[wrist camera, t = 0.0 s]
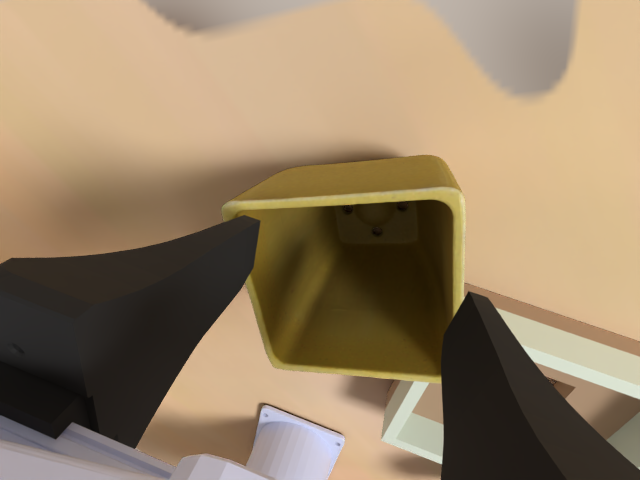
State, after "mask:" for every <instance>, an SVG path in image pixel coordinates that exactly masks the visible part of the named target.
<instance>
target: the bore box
mask: <svg viewBox="0 0 640 480" xmlns="http://www.w3.org/2000/svg"><path fill="white" fill-rule="evenodd" d="M468 291H470V292H473V293H476V294H479V295H482V296H485V297H488V298H489V300H490V301H491V302H492V304H493V305H494V307H495V308H496V309H497V311H498V312H499V314H500V315H501V317H502V318H503V320H504V321H505V323H506V324H507V326H508V327H509V329H510V330H511V331H512V333H513V334H514V336H515V337H516V339H517V340H518V341H519V343H520V344H521V346H522V347H523V348H524V350H525V351H526V352H527V354H528V355H529V356H530V358H531V359H532V360H533V362H534V363H535V364H536V365H537V367H538V368H539V369H540V371H541V372H542V373H543V374H544V376H546V377H549V378H551V379H554V380H557V382H556V383H555V384H554V385H553V386H554V387H555V388H556V390H557V391H558V392H559V393H560V394H561V395H562V396H563V397H564V398H565V399H566V401H567V402H568V403H569V404H570V405H571V406H572V407H573V408H574V409H575V410H576V411H577V412H578V413H579V414H580V415H581V416H582V417H583V418H584V419H585V420H586V421H587V422H588V423H589V424H590V425H591V426H592V427H593V428H594V429H595V430H596V431H597V432H598V433H599V434H600V435H601V436H602V437H603V438H604V439H605V440H606V441H608V442H609V443H610V444H611V445H612V446H613V447H614V448H615V449H616V450H618V451H619V452H620V453H621V454H622V455H623V456H624V457H625V458H627V459H628V460H629V461H630V462H631V463H632V464H634V465H635V466H636V467H637V468H638V469H640V342H639V341H636V340H633V339H630V338H627V337H624V336H621V335H618V334H615V333H612V332H609V331H606V330H603V329H600V328H597V327H594V326H591V325H588V324H585V323H582V322H579V321H576V320H574V319H571V318H568V317H565V316H562V315H559V314H556V313H553V312H550V311H547V310H544V309H541V308H538V307H535V306H532V305H529V304H526V303H523V302H520V301H517V300H514V299H511V298H508V297H505V296H502V295H499V294H496V293H493V292H490V291H487V290H484V289H481V288H478V287H475V286H472V285H469V284H466V283H464V298H465V296H466V295H467V293H468ZM381 441H384V442H386V443H389V444H391V445H394V446H396V447H399V448H401V449H404V450H406V451H409V452H411V453H414V454H417V455H419V456H422V457H424V458H427V459H429V460H432V461H434V462H437V463H439V464H442V457H443V441H444V430H443V405H442V384H440V383H428V382H418V381H405V380H397V379H394V381H393V383H392V385H391V387H390V389H389V391H388V393H387V399H386V407H385V414H384V422H383V429H382V437H381Z"/></svg>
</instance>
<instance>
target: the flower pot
mask: <svg viewBox="0 0 640 480" xmlns="http://www.w3.org/2000/svg"><path fill="white" fill-rule="evenodd" d="M401 201H405V202H406V203H407V204H408V207H407V208H406V209H405V210H401V209H399V208H398V203H399V202H401ZM344 205H351V206H352V208H353V210H352V211H351V212H346V211H345V210H344ZM221 213H222V217H223V221H224V222H226V221H229V220H231V219H234V218H237V217H240V216H243V215H246V216H249V217H252V218H255V219H258V220H261V222H260V228H259V235H258V242H257V248H256V255H255V262H254V268H253V269H252V271H251V273H250V275H249V276H248V278H247V280H246V281H245V284H246V287H247V290H248V293H249V296H250V299H251V303H252V306H253V309H254V313H255V316H256V320H257V324H258V327H259V331H260V334H261V337H262V341H263V344H264V348H265V351H266V354H267V356H268V358H269V360H270V362H271V364H272V366H273V367H274V368H277V369H282V370H290V371H302V372H314V373H328V374H340V375H350V376H363V377H374V378H383V379H397V380H405V381H418V382H428V383H440V384H441V354H442V344H443V335H444V333H445V331H446V330H447V328H448V326H449V324H450V323H451V321H452V319H453V317H454V316H455V314H456V312H457V310H458V309H459V307H460V305H461V303H462V302H463V300H464V254H465V221H466V215H465V198H464V195H463V193H462V191H461V189H460V187H459V185H458V184H457V182H456V180H455V178H454V176H453V174H452V173H451V171H450V169H449V167H448V166H447V164H446V163H445V162H444V161H443V160H442V159H441V158H439V157H436V156H432V155H418V156H409V157H400V158H391V159H380V160H370V161H359V162H348V163H336V164H324V165H308V166H300V167H294V168H290V169H286V170H284V171H281V172H279V173H277V174H275V175H273V176H271V177H270V178H268V179H266V180H264V181H263V182H261V183H259V184H257V185H256V186H254V187H252V188H250V189H249V190H247V191H245V192H244V193H242V194H240V195H239V196H237V197H235V198H234V199H232V200H230V201H228V202H227V203H225V204H224V205H223V206H222V208H221ZM375 227H378V228H381V229H382V233H381V234H380V235H376V234H374V233H373V229H374V228H375Z"/></svg>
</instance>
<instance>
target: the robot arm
mask: <svg viewBox="0 0 640 480" xmlns="http://www.w3.org/2000/svg"><path fill="white" fill-rule="evenodd" d="M260 222H261V220H258V219H255V218H252V217H249V216H246V215H243V216H240V217H237V218H234V219H231V220H229V221H226V222H224V223H221V224H218V225H216V226H213V227H210V228H208V229H205V230H202V231H200V232H197V233H194V234H190V235H187V236H184V237H181V238H178V239H175V240H172V241H168V242H164V243H160V244H156V245H152V246H147V247H143V248H138V249H132V250H126V251H119V252H113V253H106V254H98V255H88V256H75V257H57V258H11V259H9V260H7V261H5V262H3V263H2V264H0V480H327V479H328V477H329V475H330V472H331V470H332V468H333V466H334V464H335V462H336V460H337V457H338V455H339V453H340V451H341V449H342V447H343V445H344V442H345V437H344V436H343V435H341V434H339V433H336V432H334V431H331V430H329V429H326V428H324V427H321V426H319V425H316V424H314V423H311V422H309V421H306V420H303V419H301V418H298V417H296V416H293V415H291V414H288V413H286V412H283V411H281V410H278V409H276V408H273V407H271V406H268V405H264V406H263V407H262V409H261V413H260V418H259V422H258V427H257V431H256V436H255V440H254V444H253V449H252V452H251V455H250V457H249V459H248V462H247V464H246V466H244V465H242V464H239V463H237V462H235V461H232V460H230V459H226V458H223V457H219V456H215V455H211V454H208V453H204V454H197V455H190V456H186V457H183V458H182V459H181V460H180V462H179V464H178V465H177V467H175V466H172V465H170V464H168V463H166V462H163V461H161V460H159V459H156V458H154V457H152V456H149V455H147V454H145V453H142V452H140V451H138V450H135V448H136V446H137V444H138V443H139V441H140V439H141V437H142V435H143V433H144V432H145V430H146V428H147V426H148V424H149V423H150V421H151V419H152V418H153V416H154V414H155V412H156V411H157V409H158V407H159V406H160V404H161V402H162V400H163V399H164V397H165V395H166V394H167V392H168V390H169V389H170V387H171V385H172V384H173V382H174V380H175V379H176V377H177V376H178V374H179V372H180V371H181V369H182V367H183V366H184V364H185V363H186V361H187V360H188V358H189V356H190V355H191V353H192V352H193V350H194V349H195V347H196V346H197V344H198V343H199V341H200V340H201V339H202V337H203V336H204V335H205V333H206V332H207V331H208V330H209V328H210V327H211V326H212V325H213V323H214V322H215V321H216V320H217V319H218V317H219V316H220V315H221V314H222V312H223V311H224V310H225V309H226V307H227V306H228V305H229V304H230V302H231V301H232V300H233V299H234V297H235V296H236V295H237V293H238V292H239V291H240V290H241V288H242V286H243V285H244V283H245V281H246V280H247V278H248V276H249V275H250V273H251V271H252V269H253V268H254V262H255V255H256V248H257V242H258V235H259V228H260ZM441 384H442V405H443V430H444V441H443V457H442V473H441V480H640V469H638V468H637V467H636V466H635V465H634V464H632V463H631V462H630V461H629V460H628V459H627V458H625V457H624V456H623V455H622V454H621V453H620V452H619V451H618V450H616V449H615V448H614V447H613V446H612V445H611V444H610V443H609V442H608V441H606V440H605V439H604V438H603V437H602V436H601V435H600V434H599V433H598V432H597V431H596V430H595V429H594V428H593V427H592V426H591V425H590V424H589V423H588V422H587V421H586V420H585V419H584V418H583V417H582V416H581V415H580V414H579V413H578V412H577V411H576V410H575V409H574V408H573V407H572V406H571V405H570V404H569V403H568V402H567V401H566V399H565V398H564V397H563V396H562V395H561V394H560V393H559V392H558V391H557V390H556V388H555V387H554V386H553V385H552V384H551V383H550V382H549V380H548V379H547V378H546V377H545V376H544V374H543V373H542V372H541V371H540V369H539V368H538V367H537V365H536V364H535V363H534V362H533V360H532V359H531V358H530V356H529V355H528V354H527V352H526V351H525V350H524V348H523V347H522V346H521V344H520V343H519V341H518V340H517V339H516V337H515V336H514V334H513V333H512V331H511V330H510V329H509V327H508V326H507V324H506V323H505V321H504V320H503V318H502V317H501V315H500V314H499V312H498V311H497V309H496V308H495V307H494V305H493V304H492V302H491V301H490V300H489V298H488V297H485V296H482V295H479V294H476V293H473V292H470V291H468V293H467V295H466V296H465V298H464V300H463V302H462V303H461V305H460V307H459V309H458V310H457V312H456V314H455V316H454V317H453V319H452V321H451V323H450V324H449V326H448V328H447V330H446V331H445V333H444V335H443V344H442V354H441Z"/></svg>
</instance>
